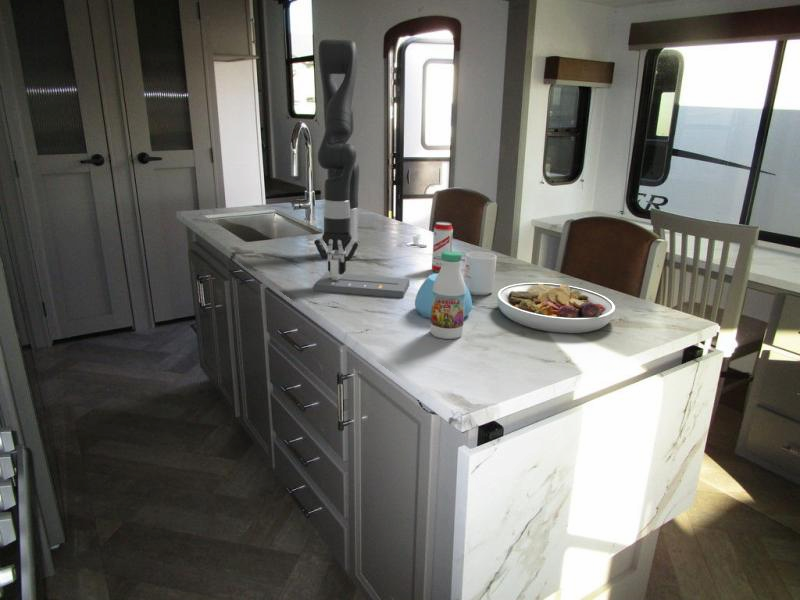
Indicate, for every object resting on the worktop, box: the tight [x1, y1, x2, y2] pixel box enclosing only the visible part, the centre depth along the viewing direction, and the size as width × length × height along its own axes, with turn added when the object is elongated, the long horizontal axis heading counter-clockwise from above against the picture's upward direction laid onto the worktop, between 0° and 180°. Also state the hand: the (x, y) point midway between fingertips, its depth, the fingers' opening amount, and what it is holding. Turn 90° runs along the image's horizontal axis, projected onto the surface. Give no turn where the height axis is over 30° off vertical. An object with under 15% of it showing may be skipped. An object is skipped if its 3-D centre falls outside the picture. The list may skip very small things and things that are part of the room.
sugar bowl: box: [414, 273, 473, 320], centre depth 149 cm, size 15×15×12 cm
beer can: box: [431, 221, 454, 273], centre depth 189 cm, size 6×6×16 cm
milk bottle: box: [429, 250, 465, 340], centre depth 134 cm, size 8×8×20 cm
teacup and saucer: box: [406, 234, 428, 248], centre depth 225 cm, size 9×8×4 cm
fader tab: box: [329, 255, 342, 281], centre depth 169 cm, size 6×2×6 cm, turn 171°
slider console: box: [313, 271, 411, 299], centre depth 169 cm, size 13×26×2 cm, turn 81°
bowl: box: [497, 282, 616, 334], centre depth 151 cm, size 30×30×8 cm
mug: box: [463, 251, 498, 296], centre depth 170 cm, size 12×9×11 cm
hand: (336, 273), depth 169 cm, fingers closed on fader tab, 2 cm apart
